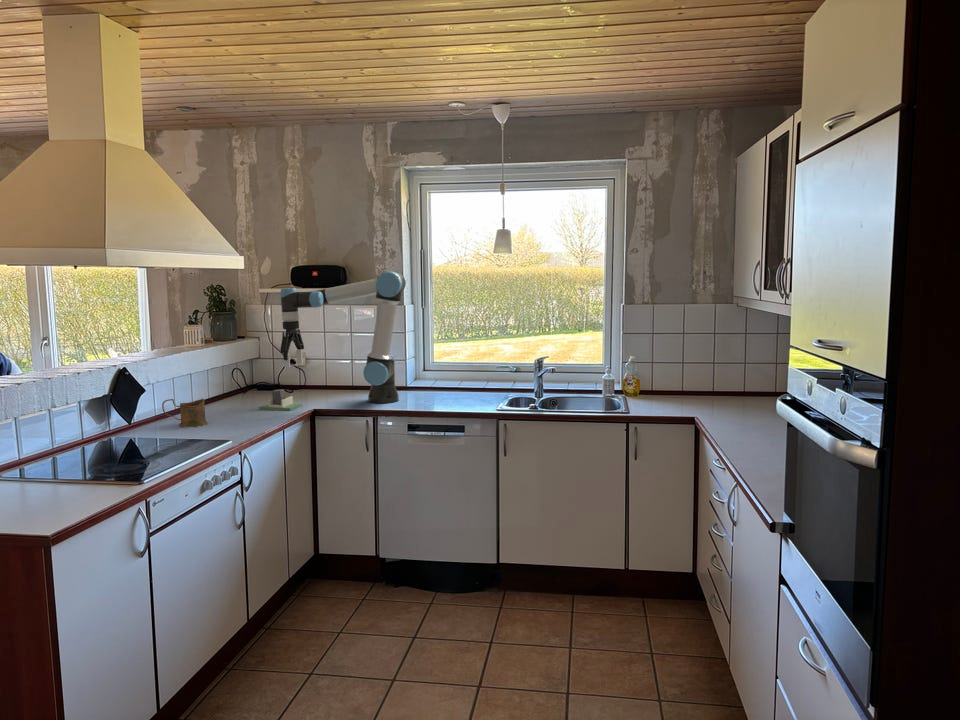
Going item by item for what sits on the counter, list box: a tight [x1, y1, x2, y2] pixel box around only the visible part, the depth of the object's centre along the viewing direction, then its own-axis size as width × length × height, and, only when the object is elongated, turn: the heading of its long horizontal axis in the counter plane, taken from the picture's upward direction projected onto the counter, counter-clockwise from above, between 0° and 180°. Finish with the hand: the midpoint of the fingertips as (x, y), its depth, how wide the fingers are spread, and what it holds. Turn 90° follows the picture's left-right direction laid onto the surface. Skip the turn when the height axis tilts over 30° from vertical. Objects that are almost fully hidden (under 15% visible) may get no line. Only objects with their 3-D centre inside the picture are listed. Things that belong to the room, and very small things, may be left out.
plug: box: [271, 389, 286, 405], centre depth 339 cm, size 4×4×7 cm
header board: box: [258, 395, 303, 412], centre depth 339 cm, size 16×12×5 cm
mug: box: [161, 398, 209, 428], centre depth 302 cm, size 12×18×12 cm, turn 126°
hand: (293, 364), depth 341 cm, fingers open, 13 cm apart
